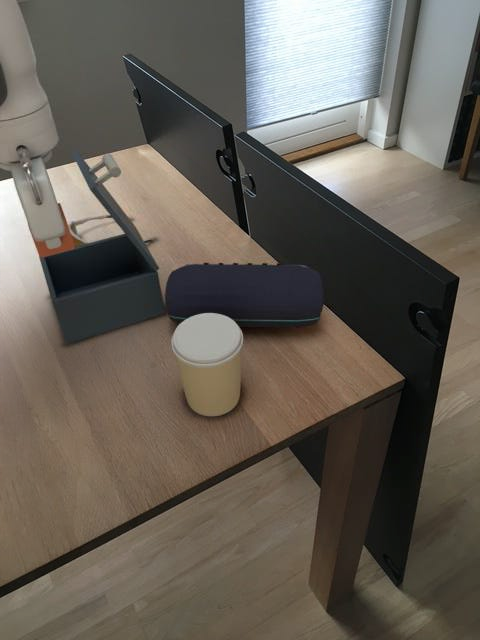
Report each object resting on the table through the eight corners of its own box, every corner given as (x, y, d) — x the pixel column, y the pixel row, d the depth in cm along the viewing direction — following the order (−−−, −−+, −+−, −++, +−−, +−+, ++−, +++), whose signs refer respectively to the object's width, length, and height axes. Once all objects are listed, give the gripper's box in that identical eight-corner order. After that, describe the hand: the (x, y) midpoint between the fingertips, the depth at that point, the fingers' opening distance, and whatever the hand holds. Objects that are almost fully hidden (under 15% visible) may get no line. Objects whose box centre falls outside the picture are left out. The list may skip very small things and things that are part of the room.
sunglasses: (59, 240, 109) (55, 218, 106) (126, 224, 117) (125, 203, 114) (88, 273, 100) (86, 250, 97) (159, 253, 108) (159, 231, 105)
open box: (67, 344, 86) (52, 302, 81) (52, 296, 96) (38, 255, 90) (165, 313, 91) (157, 272, 85) (142, 271, 101) (134, 230, 95)
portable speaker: (320, 300, 92) (324, 252, 86) (323, 340, 85) (327, 291, 78) (175, 298, 94) (168, 251, 87) (166, 338, 87) (157, 289, 80)
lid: (89, 189, 72) (119, 169, 72) (70, 151, 82) (96, 133, 82) (155, 271, 85) (180, 254, 85) (132, 229, 94) (154, 214, 94)
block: (40, 258, 70) (28, 228, 67) (35, 240, 73) (24, 211, 70) (75, 248, 71) (65, 218, 68) (69, 231, 74) (59, 202, 71)
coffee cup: (254, 379, 79) (252, 318, 71) (233, 428, 73) (228, 368, 65) (195, 365, 82) (187, 305, 74) (170, 412, 75) (158, 352, 67)
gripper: (58, 161, 55) (90, 269, 65) (32, 98, 69) (61, 194, 79) (-5, 175, 54) (37, 284, 63) (-19, 108, 68) (17, 205, 77)
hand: (50, 233), depth 71 cm, fingers closed on block, 4 cm apart
